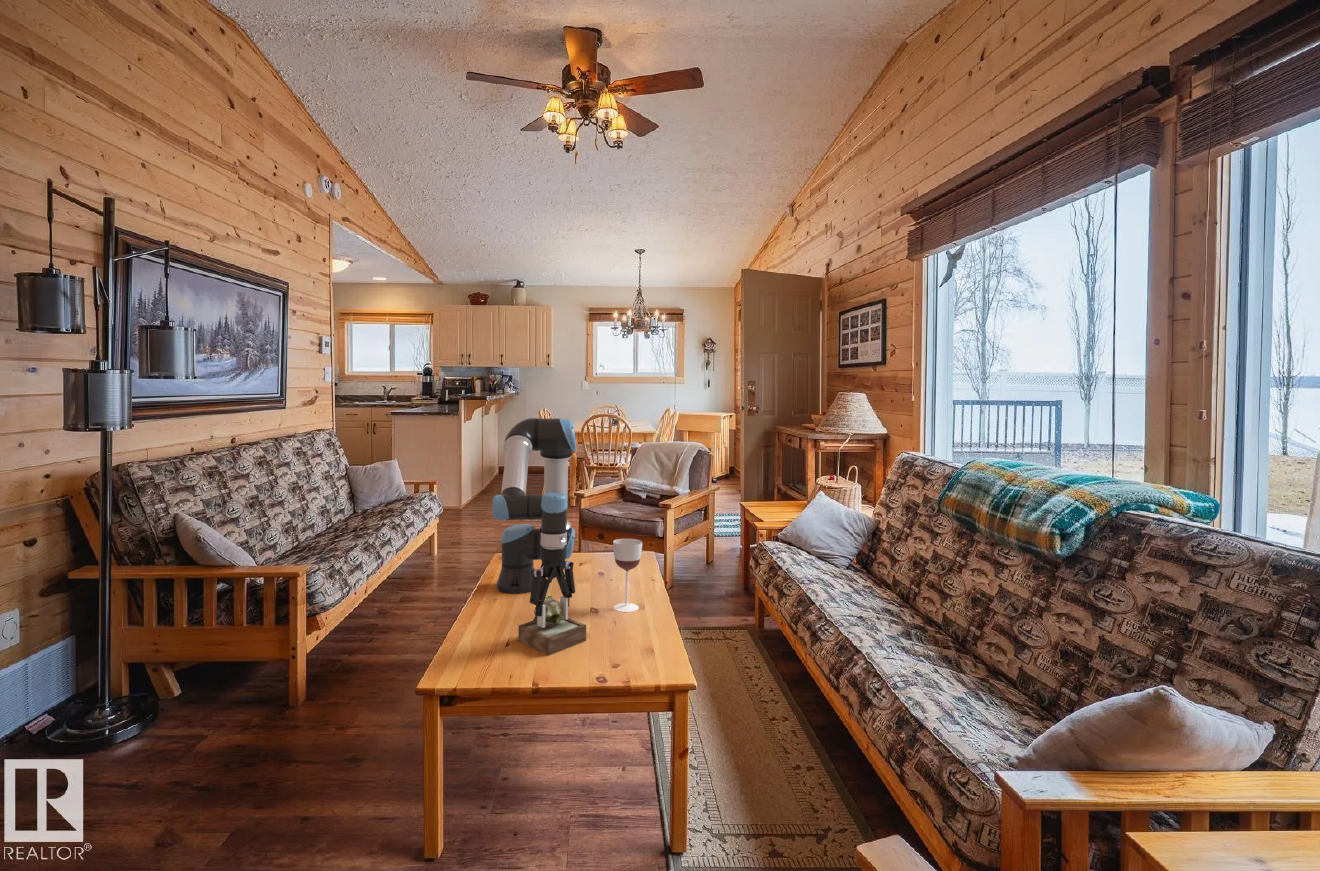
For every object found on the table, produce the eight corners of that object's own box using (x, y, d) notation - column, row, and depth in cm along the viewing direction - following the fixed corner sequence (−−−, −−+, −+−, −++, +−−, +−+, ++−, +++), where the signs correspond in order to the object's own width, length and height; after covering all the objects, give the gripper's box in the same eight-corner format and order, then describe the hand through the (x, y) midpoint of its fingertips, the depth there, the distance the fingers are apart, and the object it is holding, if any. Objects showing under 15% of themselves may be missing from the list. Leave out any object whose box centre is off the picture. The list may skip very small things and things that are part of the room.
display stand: (518, 641, 179) (518, 625, 178) (555, 628, 189) (555, 613, 189) (549, 655, 170) (549, 638, 169) (586, 640, 180) (586, 624, 180)
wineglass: (637, 613, 204) (638, 545, 203) (608, 610, 206) (610, 543, 205) (643, 604, 213) (645, 539, 211) (615, 601, 215) (617, 537, 213)
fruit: (538, 619, 185) (543, 592, 186) (566, 625, 183) (571, 598, 184) (525, 624, 177) (530, 596, 177) (554, 630, 174) (559, 602, 175)
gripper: (533, 555, 167) (532, 635, 169) (588, 542, 183) (587, 616, 185) (516, 550, 172) (515, 628, 174) (571, 538, 188) (570, 610, 189)
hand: (552, 622), depth 179 cm, fingers closed on fruit, 8 cm apart
